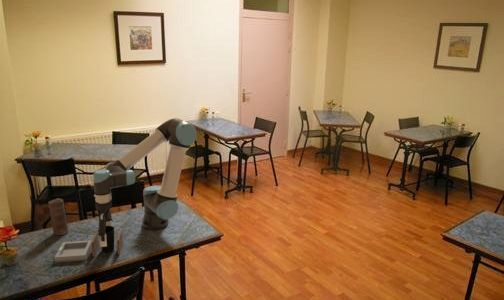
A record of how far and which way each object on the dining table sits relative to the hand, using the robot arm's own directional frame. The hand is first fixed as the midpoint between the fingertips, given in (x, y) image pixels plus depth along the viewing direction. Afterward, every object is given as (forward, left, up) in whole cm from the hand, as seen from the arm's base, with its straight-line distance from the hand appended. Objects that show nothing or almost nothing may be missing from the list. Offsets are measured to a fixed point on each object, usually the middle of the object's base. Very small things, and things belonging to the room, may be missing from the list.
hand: (106, 239), depth 190 cm
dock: (+16, +1, -6) cm, 17 cm away
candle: (+29, -22, -7) cm, 37 cm away
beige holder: (0, 0, -6) cm, 6 cm away
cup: (0, 0, -7) cm, 7 cm away
